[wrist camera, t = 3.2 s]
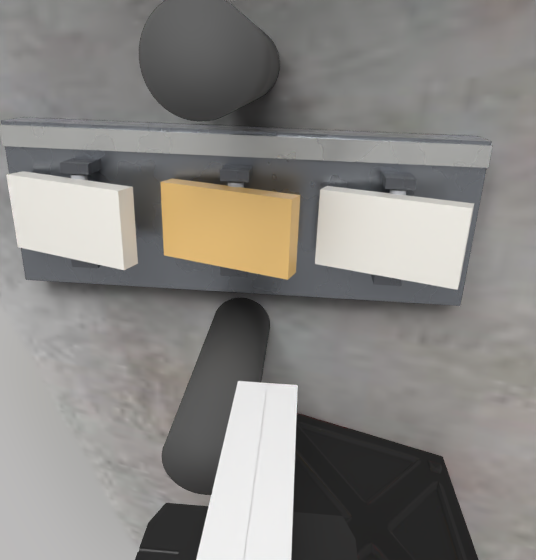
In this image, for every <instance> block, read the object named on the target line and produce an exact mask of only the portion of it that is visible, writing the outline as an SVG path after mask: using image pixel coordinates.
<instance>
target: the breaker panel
mask: <svg viewBox="0 0 536 560" xmlns="http://www.w3.org/2000/svg"><path fill="white" fill-rule="evenodd" d="M0 136H1V143H2V146H5V150H6V156H7V162H8V169H9V174H11V173H17V172H22V171H25V172H32V173H39V174H46V175H53V176H60V177H67V178H71V176H70V174H83V175H87V179H88V181H95V182H102V183H109V184H116V185H123V186H130V187H133V198H134V213H135V228H136V243H137V257H138V264H136V265H134V266H132V267H130V268H128V269H126V270H121V269H116V268H112V267H107V266H102V265H98V264H93V263H89V262H84V261H79V260H75V259H70V258H66V257H61V256H56V255H52V254H47V253H43V252H38V251H33V250H29V249H24V248H21V252H22V258H23V265H24V271H25V278H26V280H40V281H57V282H74V283H90V284H107V285H124V286H140V287H157V288H174V289H190V290H207V291H223V292H240V293H257V294H273V295H290V296H307V297H323V298H340V299H357V300H373V301H390V302H406V303H423V304H440V305H456V306H460V304H461V299H462V294H463V288H464V283H465V278H466V273H467V268H468V262H469V257H470V252H471V247H472V241H473V236H474V231H475V226H476V221H477V215H478V210H479V205H480V200H481V194H482V189H483V184H484V179H485V173H486V168H489V162H490V157H491V152H492V147H493V146H492V145H491V142H492V141H489V140H487V139H484V138H481V137H479V136H461V135H437V134H413V133H389V132H365V131H341V130H317V129H293V128H269V127H245V126H221V125H197V124H173V123H149V122H124V121H100V120H76V119H52V118H28V117H22V118H15V119H9V120H3V121H1V125H0ZM172 178H174V179H181V180H189V181H197V182H204V183H212V184H220V185H227V186H228V181H229V182H244V188H250V189H258V190H266V191H273V192H281V193H289V194H296V195H300V210H299V227H298V245H297V262H296V273H295V274H294V275H293V276H292V277H290V278H289V279H288V280H286V279H281V278H276V277H271V276H266V275H261V274H256V273H251V272H246V271H241V270H236V269H231V268H225V267H220V266H215V265H210V264H205V263H200V262H195V261H190V260H185V259H180V258H175V257H170V256H165V255H164V248H163V226H162V205H161V183H160V182H162V181H165V180H169V179H172ZM326 186H333V187H342V188H350V189H358V190H366V191H375V192H383V193H390V189H397V190H407V192H406V195H408V196H416V197H424V198H433V199H441V200H449V201H458V202H466V203H474V208H473V213H472V219H471V224H470V229H469V235H468V240H467V245H466V251H465V256H464V262H463V267H462V272H461V278H460V283H459V286H458V290H456V289H451V288H445V287H440V286H434V285H429V284H423V283H418V282H412V281H407V280H401V279H396V278H390V277H385V276H379V275H374V274H368V273H362V272H357V271H351V270H346V269H340V268H335V267H329V266H324V265H318V264H315V255H316V241H317V227H318V212H319V198H320V189H322V188H324V187H326Z"/></svg>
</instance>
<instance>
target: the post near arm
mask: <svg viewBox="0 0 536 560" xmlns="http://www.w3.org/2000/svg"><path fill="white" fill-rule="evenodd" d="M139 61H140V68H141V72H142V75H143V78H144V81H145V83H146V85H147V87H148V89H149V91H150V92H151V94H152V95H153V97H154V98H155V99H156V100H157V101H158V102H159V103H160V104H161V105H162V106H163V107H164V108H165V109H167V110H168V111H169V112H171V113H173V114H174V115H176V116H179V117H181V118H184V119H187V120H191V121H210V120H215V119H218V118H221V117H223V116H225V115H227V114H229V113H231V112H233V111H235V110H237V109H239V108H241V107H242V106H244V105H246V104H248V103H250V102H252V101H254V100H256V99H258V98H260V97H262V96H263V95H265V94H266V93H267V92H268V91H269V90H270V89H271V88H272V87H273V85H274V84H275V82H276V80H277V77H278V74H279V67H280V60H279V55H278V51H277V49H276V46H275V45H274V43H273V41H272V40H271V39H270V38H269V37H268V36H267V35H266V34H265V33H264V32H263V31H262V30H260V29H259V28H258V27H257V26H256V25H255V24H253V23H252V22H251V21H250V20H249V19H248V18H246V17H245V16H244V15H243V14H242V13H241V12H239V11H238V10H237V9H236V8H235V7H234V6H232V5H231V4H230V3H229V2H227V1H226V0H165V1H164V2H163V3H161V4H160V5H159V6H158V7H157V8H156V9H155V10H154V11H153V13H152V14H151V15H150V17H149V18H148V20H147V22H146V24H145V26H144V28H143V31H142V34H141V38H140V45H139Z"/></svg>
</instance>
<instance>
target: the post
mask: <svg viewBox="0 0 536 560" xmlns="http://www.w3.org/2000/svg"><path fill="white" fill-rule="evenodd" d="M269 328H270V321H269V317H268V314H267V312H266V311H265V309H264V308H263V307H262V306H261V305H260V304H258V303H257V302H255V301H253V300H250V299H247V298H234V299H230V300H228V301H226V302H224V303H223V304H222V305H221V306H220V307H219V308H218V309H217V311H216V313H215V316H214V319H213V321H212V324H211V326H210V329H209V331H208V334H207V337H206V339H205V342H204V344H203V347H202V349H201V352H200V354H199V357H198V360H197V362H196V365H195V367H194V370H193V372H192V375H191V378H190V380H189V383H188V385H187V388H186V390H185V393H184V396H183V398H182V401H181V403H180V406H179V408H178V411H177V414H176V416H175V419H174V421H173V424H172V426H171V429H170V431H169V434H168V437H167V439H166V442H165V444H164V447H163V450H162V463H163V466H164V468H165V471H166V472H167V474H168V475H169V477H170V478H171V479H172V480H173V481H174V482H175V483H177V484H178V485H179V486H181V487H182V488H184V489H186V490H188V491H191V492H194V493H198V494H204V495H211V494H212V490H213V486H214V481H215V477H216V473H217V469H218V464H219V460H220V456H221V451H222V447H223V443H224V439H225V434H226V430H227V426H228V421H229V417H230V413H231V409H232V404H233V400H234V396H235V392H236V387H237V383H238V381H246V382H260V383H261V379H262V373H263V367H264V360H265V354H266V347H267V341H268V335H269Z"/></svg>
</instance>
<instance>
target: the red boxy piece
mask: <svg viewBox="0 0 536 560" xmlns="http://www.w3.org/2000/svg"><path fill="white" fill-rule="evenodd" d="M293 512H300V513H312V514H324V515H336V516H343V517H344V519H345V521H346V523H347V525H348V526H349V528H350V530H351V532H352V534H353V535H354V537H355V539H356V548H357V558H358V560H478V557H477V554H476V552H475V549H474V546H473V543H472V540H471V537H470V534H469V531H468V529H467V526H466V523H465V520H464V517H463V514H462V511H461V508H460V506H459V503H458V500H457V497H456V494H455V491H454V488H453V486H452V483H451V480H450V477H449V474H448V471H447V468H446V465H445V463H444V460H443V457H442V456H438V455H435V454H432V453H428V452H425V451H422V450H418V449H415V448H412V447H408V446H405V445H402V444H398V443H395V442H392V441H388V440H385V439H382V438H378V437H375V436H372V435H368V434H365V433H362V432H358V431H355V430H352V429H348V428H345V427H342V426H338V425H335V424H332V423H328V422H325V421H322V420H318V419H315V418H312V417H308V416H305V415H302V414H298V413H297V417H296V444H295V471H294V498H293Z"/></svg>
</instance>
